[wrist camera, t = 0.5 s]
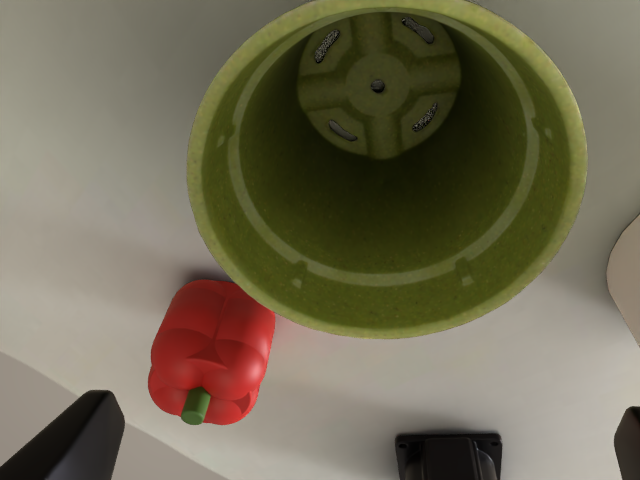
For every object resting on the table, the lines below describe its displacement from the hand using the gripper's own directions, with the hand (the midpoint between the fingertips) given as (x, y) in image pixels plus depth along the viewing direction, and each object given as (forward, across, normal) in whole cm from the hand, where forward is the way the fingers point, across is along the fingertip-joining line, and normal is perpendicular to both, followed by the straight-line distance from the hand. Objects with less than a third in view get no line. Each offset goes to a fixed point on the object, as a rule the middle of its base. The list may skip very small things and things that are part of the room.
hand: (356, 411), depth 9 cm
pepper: (+14, +7, +10) cm, 19 cm away
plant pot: (+14, 0, -1) cm, 14 cm away
